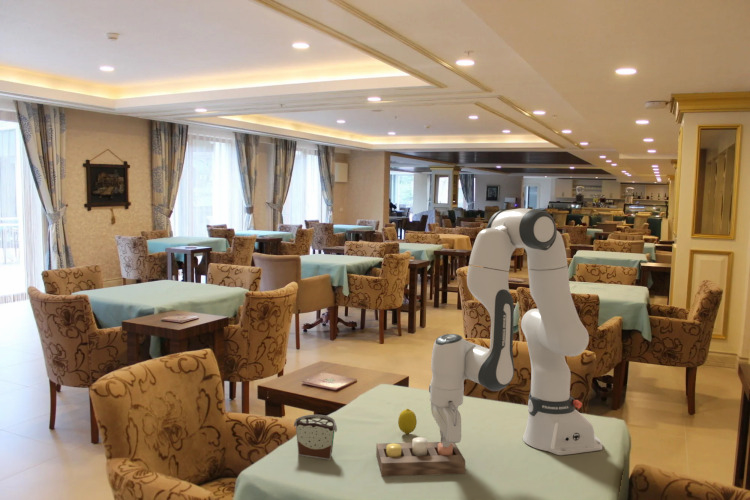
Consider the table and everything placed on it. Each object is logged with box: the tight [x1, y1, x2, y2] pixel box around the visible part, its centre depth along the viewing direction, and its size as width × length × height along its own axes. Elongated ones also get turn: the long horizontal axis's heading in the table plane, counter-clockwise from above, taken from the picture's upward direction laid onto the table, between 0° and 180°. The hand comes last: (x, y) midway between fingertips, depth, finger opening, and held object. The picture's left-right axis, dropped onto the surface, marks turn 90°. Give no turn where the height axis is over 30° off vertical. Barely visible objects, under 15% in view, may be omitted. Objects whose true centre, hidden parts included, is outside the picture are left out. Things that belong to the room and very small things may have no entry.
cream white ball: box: [411, 436, 428, 456], centre depth 159 cm, size 4×4×4 cm
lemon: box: [397, 408, 418, 435], centre depth 178 cm, size 6×6×8 cm
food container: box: [293, 414, 338, 461], centre depth 164 cm, size 12×6×10 cm, turn 74°
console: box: [375, 441, 466, 477], centre depth 159 cm, size 22×12×4 cm, turn 96°
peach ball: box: [438, 443, 453, 456], centre depth 159 cm, size 4×4×4 cm
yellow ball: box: [386, 442, 402, 457], centre depth 158 cm, size 4×4×4 cm
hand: (444, 445), depth 159 cm, fingers closed, pressing on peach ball
